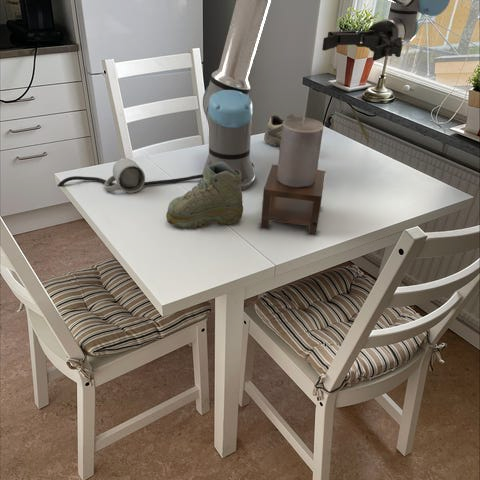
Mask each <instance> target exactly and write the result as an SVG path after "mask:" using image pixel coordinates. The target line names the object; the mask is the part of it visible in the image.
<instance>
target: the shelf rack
mask: <svg viewBox="0 0 480 480" xmlns="http://www.w3.org/2000/svg"><path fill="white" fill-rule="evenodd" d="M277 172H278V164H271V167H270V170H269V173H268V176H267V179H266V182H265V184H264V187H263V191H262V192H263V193H262V206H261V207H262V208H261V218H260V219H261V220H260V229H267V230H268V229H269V225H270V222H277V223H285V224H293V225H301V226H309V229H308V235H312V236H316V235H317V230H318V226H319V218H320V211H321V205H322V200H323V199H322V198H323V194H324V193H323V192H324V187H325V186H324V185H325V177H326V170H323V169H317V174H316V179H315V183H314V184H313V185H311V186H304V187H290V186H287V185H284V184H282V183H280V182H279V181H278V180H277Z"/></svg>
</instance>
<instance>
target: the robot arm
mask: <svg viewBox="0 0 480 480" xmlns="http://www.w3.org/2000/svg"><path fill="white" fill-rule="evenodd" d="M388 1H389V2H390V7H389V9H388V10H389V11H388V15H387V18H385V19H383V20H380V21H377V22H374V23H373V24H372V25H371V26H370V27H369V29H367V30H358V29H356V28H355V29H350V30H339V31H337V30H336V31H328V32H327V36H326V37H323V42H322V48H321V50H322V51H328V50H331V49H335V48H337V47H338V46H356V47H357V48H367V49H369V50H370V52H372V53H373V54H372V61H374V62H377V61H378V60H380V59H383V58H385V57H392V56H393V55H394V56H395V57H396V58H400V57H401V55H402V52H403V51H402V50H403V46H405V45H407V44H408V43H410V42H411V41H412V40H414V39H415V38H416V36H417V34H418V32H419V20H418V19H417V16H418V13H419V14H420V15H422V16H425V17H431V18H433V17H437V16H440V15H441V14H443V12H444V11H445V10H446V9H447V8H448V6H449V3H450V1H451V0H388ZM271 2H272V0H236V1H235V6H234V9H233V13H232V17H231V21H230V24H229V29H228V32H227V36H226V40H225V43H224V47H223V51H222V55H221V59H220V63H219V66H218V69H216V70H215V71H213V72H212V73H211V76H210V80H209V85H208V86H207V87H206V89H205V91H204V93H203V96H202V109H203V113H204V115H205V118H206V122H207V125H208V154H207V158H206V161H205V164H204V167H203V170H202V174H195V175H190V176H184V177H177V178H170V179H161V180H150V181H145V183H144V185H143V187H147V186H152V185H153V186H154V185H161V184H163V185H164V184H171V183H179V182H186V181H191V180H197V179H201V178H204V176H205V172H206V167H207V165H213V164H215V163H217V162H224V163H226V164H227V165H228V166H229V167H230V168H231V169H232V170H239V171H240V173H241V176H242V180H241V182H240V185H241V191H244V190H246V189H249V188H251V187H252V186H253V185H254V184H255V180H256V174H255V171H254V168H255V166H254V163H253V162H252V159H251V154H250V153H251V141H252V139H251V138H252V137H251V136H252V124H253V123H252V122H253V121H252V120H253V113H254V110H253V109H254V108H253V101H252V99H251V98H250V96H249V95H250V91H251V88H252V86H251V84H250V82H249V76H250V73H251V70H252V66H253V63H254V59H255V55H256V52H257V49H258V45H259V42H260V39H261V35H262V32H263V28H264V25H265V22H266V19H267V15H268V12H269V8H270V5H271ZM106 180H107V179H104V178H102V177H95V176H82V175H81V176H80V175H79V176H78V175H76V176H68V177H66V178H64V179H62V180H61V181H60V182H59V183H58V184H57V187H58V188H59V187H63V185H65V184H67V183H68V182H70V181H93V182H94V181H95V182H100V183H102V184H104V183H105V182H106ZM115 184H116V183H115V182H110V183H109V187H110V186H113V185H115ZM127 188H132V187H127Z"/></svg>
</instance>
